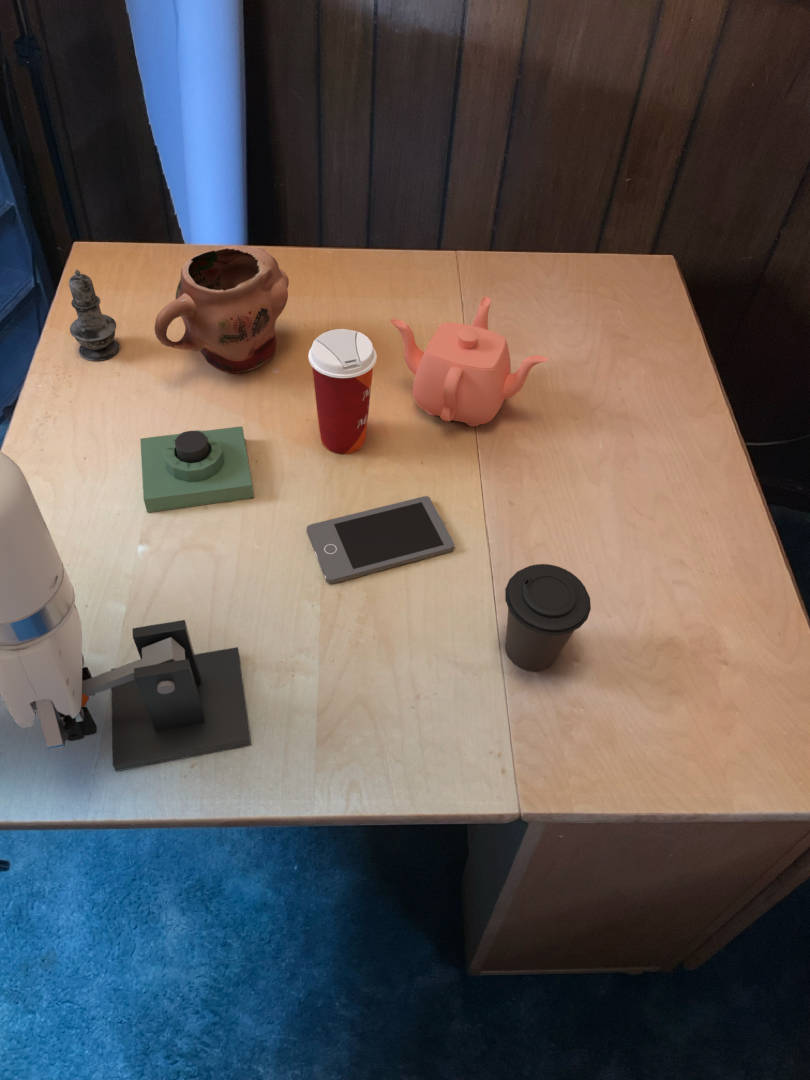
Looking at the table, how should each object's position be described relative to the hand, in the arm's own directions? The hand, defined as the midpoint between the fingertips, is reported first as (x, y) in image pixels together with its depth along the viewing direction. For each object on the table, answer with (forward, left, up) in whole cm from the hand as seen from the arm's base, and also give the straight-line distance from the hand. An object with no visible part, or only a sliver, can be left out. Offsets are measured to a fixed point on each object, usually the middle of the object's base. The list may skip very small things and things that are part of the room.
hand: (78, 713), depth 72 cm
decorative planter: (+19, +51, -3) cm, 55 cm away
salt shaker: (+2, +56, -3) cm, 57 cm away
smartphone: (+32, +16, -3) cm, 36 cm away
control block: (+13, +30, -3) cm, 33 cm away
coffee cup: (+44, -1, -3) cm, 44 cm away
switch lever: (+5, 0, +3) cm, 6 cm away
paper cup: (+31, +33, -3) cm, 45 cm away
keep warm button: (+13, +30, +1) cm, 33 cm away
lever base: (+9, 0, -3) cm, 9 cm away
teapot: (+48, +38, -3) cm, 61 cm away
